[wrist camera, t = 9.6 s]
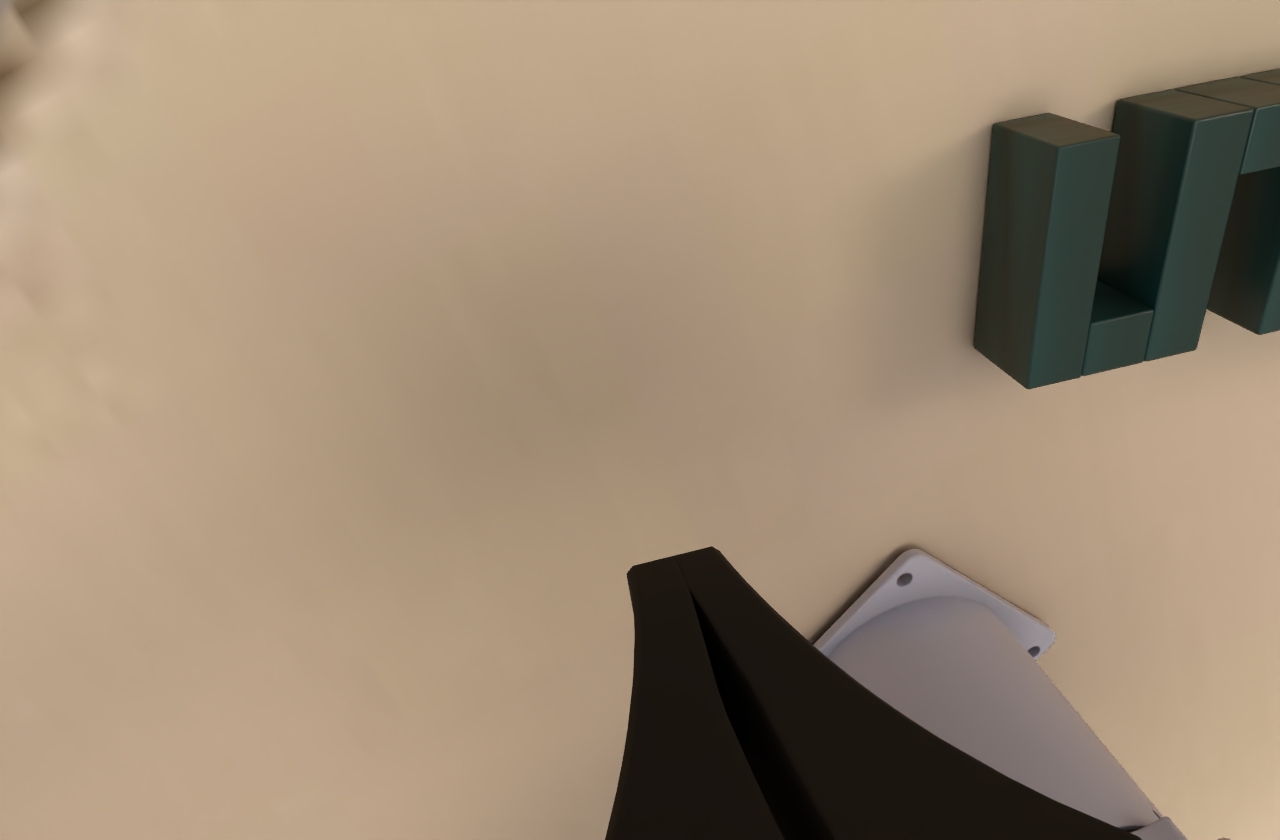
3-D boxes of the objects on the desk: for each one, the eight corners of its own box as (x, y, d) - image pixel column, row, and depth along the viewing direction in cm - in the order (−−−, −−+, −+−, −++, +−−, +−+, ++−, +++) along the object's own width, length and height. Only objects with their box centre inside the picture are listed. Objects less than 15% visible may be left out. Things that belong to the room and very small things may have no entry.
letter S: (972, 348, 24) (1027, 390, 21) (992, 123, 20) (1058, 146, 18) (1232, 289, 24) (1309, 324, 22) (1290, 65, 21) (1384, 82, 19)
